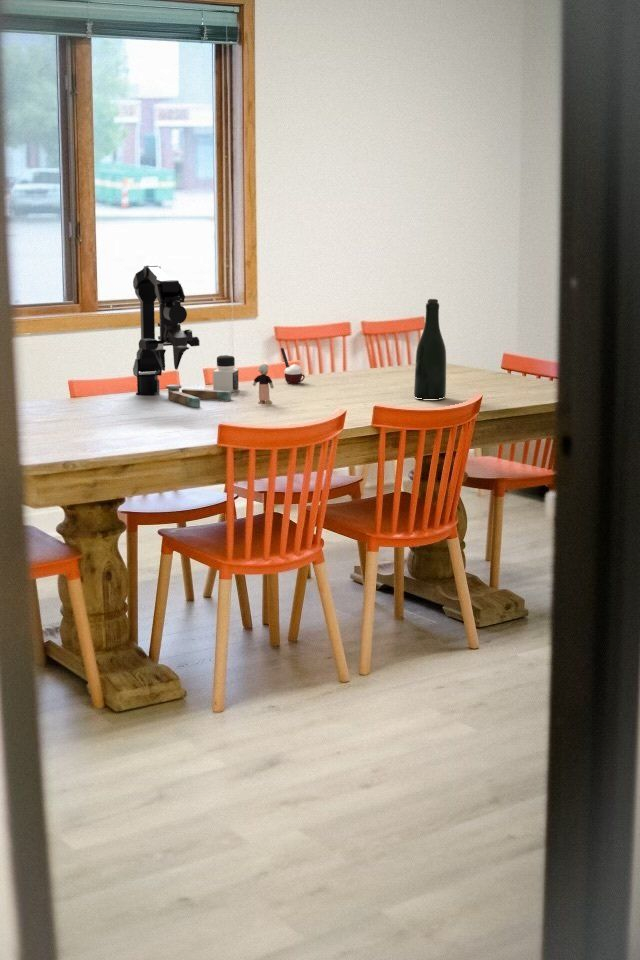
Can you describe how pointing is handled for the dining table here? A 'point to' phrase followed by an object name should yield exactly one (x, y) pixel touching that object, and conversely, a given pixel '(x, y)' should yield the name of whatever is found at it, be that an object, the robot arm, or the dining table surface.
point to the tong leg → (184, 398)
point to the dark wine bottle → (430, 357)
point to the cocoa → (292, 371)
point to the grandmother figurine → (263, 384)
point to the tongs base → (202, 393)
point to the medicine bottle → (225, 374)
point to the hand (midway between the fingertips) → (169, 369)
